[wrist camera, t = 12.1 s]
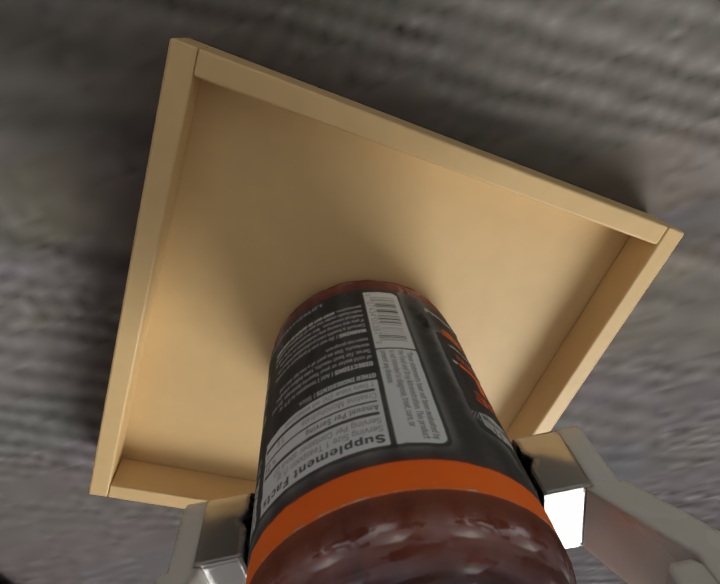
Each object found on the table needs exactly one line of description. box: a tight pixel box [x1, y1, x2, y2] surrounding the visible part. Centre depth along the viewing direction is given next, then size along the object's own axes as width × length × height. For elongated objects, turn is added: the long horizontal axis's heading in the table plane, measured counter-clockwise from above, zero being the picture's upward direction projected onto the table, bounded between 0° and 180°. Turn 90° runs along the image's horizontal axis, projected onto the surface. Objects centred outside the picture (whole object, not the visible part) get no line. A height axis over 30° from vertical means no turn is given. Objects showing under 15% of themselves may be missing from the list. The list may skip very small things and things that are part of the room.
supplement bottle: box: [246, 280, 576, 584], centre depth 11 cm, size 6×6×11 cm
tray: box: [89, 38, 684, 509], centre depth 16 cm, size 14×14×2 cm
